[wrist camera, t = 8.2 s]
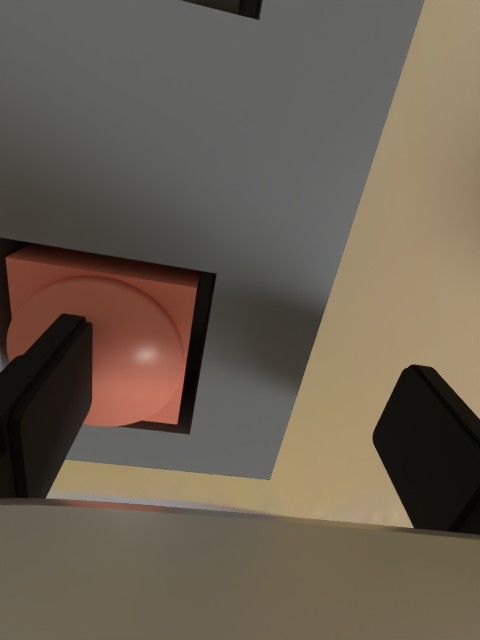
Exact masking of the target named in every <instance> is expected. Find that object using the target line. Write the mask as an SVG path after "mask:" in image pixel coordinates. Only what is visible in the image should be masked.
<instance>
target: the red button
mask: <svg viewBox="0 0 480 640" xmlns="http://www.w3.org/2000/svg"><path fill="white" fill-rule="evenodd" d="M6 266H7V276H8V285H9V295H10V304H11V314H12V321H11V323H10V326H9V329H8V333H7V341H6V342H7V354H8V359H9V362H11V361H12V360H13V359H14V358H15V357H17V356H19V355H23V354H24V353H25V352H26V351H27V350H28V349H29V348H30V347H31V346H32V345H33V344H34V343H35V341H36V340H37V339H38V338H39V337H40V336H41V335H42V334H43V333H44V332H45V331H46V330H47V329H48V328H49V326H50V325H51V324H52V323H53V322H54V321H55V320H56V319H57V318H58V317H59V316H60V315H61V314H62V313H66V314H72V315H79V316H84V317H85V318H86V322H91V323H92V327H93V356H92V404H91V407H90V410H89V412H88V414H87V416H86V418H85V420H84V422H83V424H86V425H92V426H104V427H110V426H122V425H127V424H132V423H135V422H138V421H141V420H143V421H152V422H160V423H169V424H177V423H178V417H179V411H180V405H181V399H182V393H183V387H184V381H185V374H186V368H187V361H188V354H189V347H190V340H191V333H192V326H193V320H194V313H195V306H196V299H197V292H198V285H199V279H200V272H201V271H199V270H193V269H187V268H181V267H175V266H169V265H163V264H157V263H151V262H145V261H139V260H133V259H127V258H121V257H115V256H109V255H103V254H97V253H91V252H85V251H79V250H73V249H66V248H60V247H54V246H48V245H42V244H36V243H32V244H30V245H28V246H26V247H24V248H22V249H20V250H19V251H17V252H15V253H13V254H11V255H9V256H7V257H6Z"/></svg>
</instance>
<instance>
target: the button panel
mask: <svg viewBox="0 0 480 640" xmlns="http://www.w3.org/2000/svg"><path fill="white" fill-rule="evenodd" d="M423 3H424V0H241V1H240V8H239V15H236V14H232V13H229V12H225V11H221V10H217V9H213V8H209V7H205V6H201V5H197V4H193V3H189V2H185V1H181V0H0V372H1V371H2V370H3V369H4V368H5V367H6V366H7V365H8V364H9V363H10V362H9V359H8V354H7V342H6V341H7V333H8V329H9V326H10V323H11V321H12V314H11V304H10V295H9V285H8V276H7V266H6V257H7V256H9V255H11V254H13V253H15V252H17V251H19V250H20V249H22V248H24V247H26V246H28V245H30V244H32V243H36V244H42V245H48V246H54V247H60V248H66V249H73V250H79V251H85V252H91V253H97V254H103V255H109V256H115V257H121V258H127V259H133V260H139V261H145V262H151V263H157V264H163V265H169V266H175V267H181V268H187V269H193V270H199V271H201V272H200V279H199V285H198V292H197V299H196V306H195V313H194V320H193V326H192V333H191V340H190V347H189V354H188V361H187V368H186V374H185V381H184V387H183V393H182V399H181V405H180V411H179V417H178V423H177V424H169V423H160V422H152V421H143V420H141V421H138V422H135V423H132V424H127V425H122V426H110V427H104V426H92V425H86V424H82V426H81V428H80V430H79V432H78V434H77V436H76V438H75V440H74V442H73V444H72V446H71V448H70V450H69V452H68V454H67V456H66V458H65V460H75V461H85V462H95V463H105V464H115V465H125V466H135V467H145V468H155V469H165V470H175V471H185V472H195V473H206V474H216V475H226V476H236V477H246V478H256V479H266V480H270V478H271V474H272V471H273V468H274V465H275V462H276V459H277V456H278V453H279V450H280V447H281V443H282V440H283V437H284V434H285V431H286V428H287V425H288V422H289V419H290V416H291V412H292V409H293V406H294V403H295V400H296V397H297V394H298V391H299V388H300V385H301V381H302V378H303V375H304V372H305V369H306V366H307V363H308V360H309V357H310V354H311V350H312V347H313V344H314V341H315V338H316V335H317V332H318V329H319V326H320V323H321V319H322V316H323V313H324V310H325V307H326V304H327V301H328V298H329V295H330V292H331V288H332V285H333V282H334V279H335V276H336V273H337V270H338V267H339V264H340V261H341V258H342V254H343V251H344V248H345V245H346V242H347V239H348V236H349V233H350V230H351V227H352V223H353V220H354V217H355V214H356V211H357V208H358V205H359V202H360V199H361V196H362V192H363V189H364V186H365V183H366V180H367V177H368V174H369V171H370V168H371V165H372V161H373V158H374V155H375V152H376V149H377V146H378V143H379V140H380V137H381V134H382V130H383V127H384V124H385V121H386V118H387V115H388V112H389V109H390V106H391V103H392V99H393V96H394V93H395V90H396V87H397V84H398V81H399V78H400V75H401V72H402V68H403V65H404V62H405V59H406V56H407V53H408V50H409V47H410V44H411V41H412V38H413V34H414V31H415V28H416V25H417V22H418V19H419V16H420V13H421V10H422V7H423Z"/></svg>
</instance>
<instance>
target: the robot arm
mask: <svg viewBox="0 0 480 640" xmlns="http://www.w3.org/2000/svg"><path fill="white" fill-rule="evenodd" d="M92 356H93V327H92V323H91V322H86V318H85V317H84V316H79V315H72V314H66V313H62V314H61V315H60V316H59V317H58V318H57V319H56V320H55V321H54V322H53V323H52V324H51V325H50V326H49V328H48V329H47V330H46V331H45V332H44V333H43V334H42V335H41V336H40V337H39V338H38V339H37V340H36V341H35V343H34V344H33V345H32V346H31V347H30V348H29V349H28V350H27V351H26V352H25V353H24V354H23V355H19V356H17V357H15V358H14V359H13V360H12V361H11V362H10V363H9V364H8V365H7V366H6V367H5V368H4V369H3V370H2V371H1V372H0V640H480V419H479V418H478V417H477V416H476V415H475V414H474V412H473V411H472V410H471V409H470V408H469V407H468V406H467V405H466V404H465V403H464V401H463V400H462V399H461V398H460V397H459V396H458V395H457V394H456V393H455V391H454V390H453V389H452V388H451V387H450V386H449V385H448V384H447V383H446V381H445V380H444V379H443V378H442V377H441V376H440V375H439V374H438V373H437V371H436V370H435V369H434V368H432V367H428V366H421V365H414V364H413V365H410V366H409V367H408V368H405V369H404V370H403V371H402V373H401V375H400V377H399V379H398V381H397V383H396V386H395V388H394V390H393V392H392V394H391V396H390V398H389V400H388V402H387V404H386V407H385V409H384V411H383V413H382V415H381V417H380V419H379V421H378V423H377V425H376V428H375V430H374V432H373V443H374V446H375V448H376V450H377V452H378V454H379V456H380V458H381V460H382V462H383V465H384V467H385V469H386V471H387V473H388V475H389V477H390V479H391V481H392V483H393V485H394V487H395V489H396V491H397V494H398V496H399V498H400V500H401V502H402V504H403V506H404V508H405V510H406V512H407V514H408V516H409V518H410V520H411V523H412V525H413V527H414V528H405V527H394V526H384V525H373V524H362V523H351V522H340V521H329V520H318V519H306V518H295V517H284V516H272V515H261V514H249V513H238V512H225V511H212V510H201V509H189V508H177V507H165V506H153V505H140V504H127V503H112V502H97V501H82V500H67V499H45V498H46V496H47V494H48V492H49V490H50V488H51V486H52V484H53V482H54V480H55V478H56V476H57V474H58V472H59V470H60V468H61V466H62V464H63V462H64V460H65V458H66V456H67V454H68V452H69V450H70V448H71V446H72V444H73V442H74V440H75V438H76V436H77V434H78V432H79V430H80V428H81V426H82V424H83V422H84V420H85V418H86V416H87V414H88V412H89V410H90V407H91V404H92Z"/></svg>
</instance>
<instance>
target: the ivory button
mask: <svg viewBox="0 0 480 640" xmlns="http://www.w3.org/2000/svg"><path fill="white" fill-rule="evenodd" d="M181 1H185V2H189V3H193V4H197V5H201V6H205V7H209V8H213V9H217V10H221V11H225V12H229V13H232V14H236V15H239V8H240V1H241V0H181Z"/></svg>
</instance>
